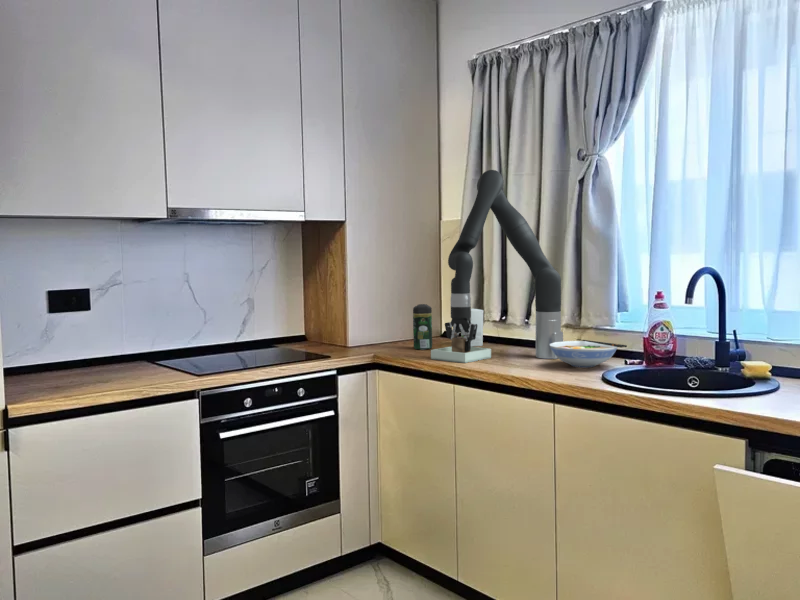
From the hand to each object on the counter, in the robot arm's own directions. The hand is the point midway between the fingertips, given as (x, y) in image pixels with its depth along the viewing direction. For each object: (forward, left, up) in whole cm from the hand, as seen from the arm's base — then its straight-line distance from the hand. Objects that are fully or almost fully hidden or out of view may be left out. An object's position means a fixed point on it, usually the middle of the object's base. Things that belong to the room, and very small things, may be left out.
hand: (461, 350), depth 256 cm
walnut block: (0, 0, -1) cm, 1 cm away
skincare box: (+20, -34, -3) cm, 40 cm away
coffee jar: (+30, -13, -3) cm, 33 cm away
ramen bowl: (-44, -11, -3) cm, 45 cm away
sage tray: (0, 0, -3) cm, 3 cm away
